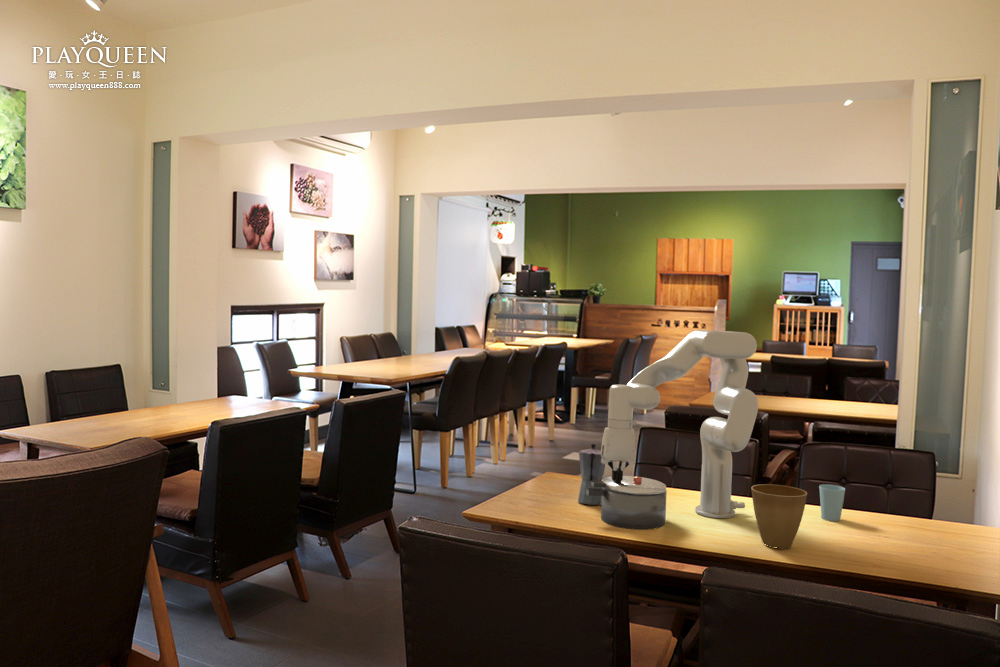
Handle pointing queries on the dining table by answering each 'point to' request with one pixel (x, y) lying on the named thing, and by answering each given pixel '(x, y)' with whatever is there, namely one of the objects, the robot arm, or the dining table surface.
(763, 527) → the plant pot
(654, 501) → the cooker pot
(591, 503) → the moka pot
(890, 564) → the dining table surface
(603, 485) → the cooker lid
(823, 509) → the cup
